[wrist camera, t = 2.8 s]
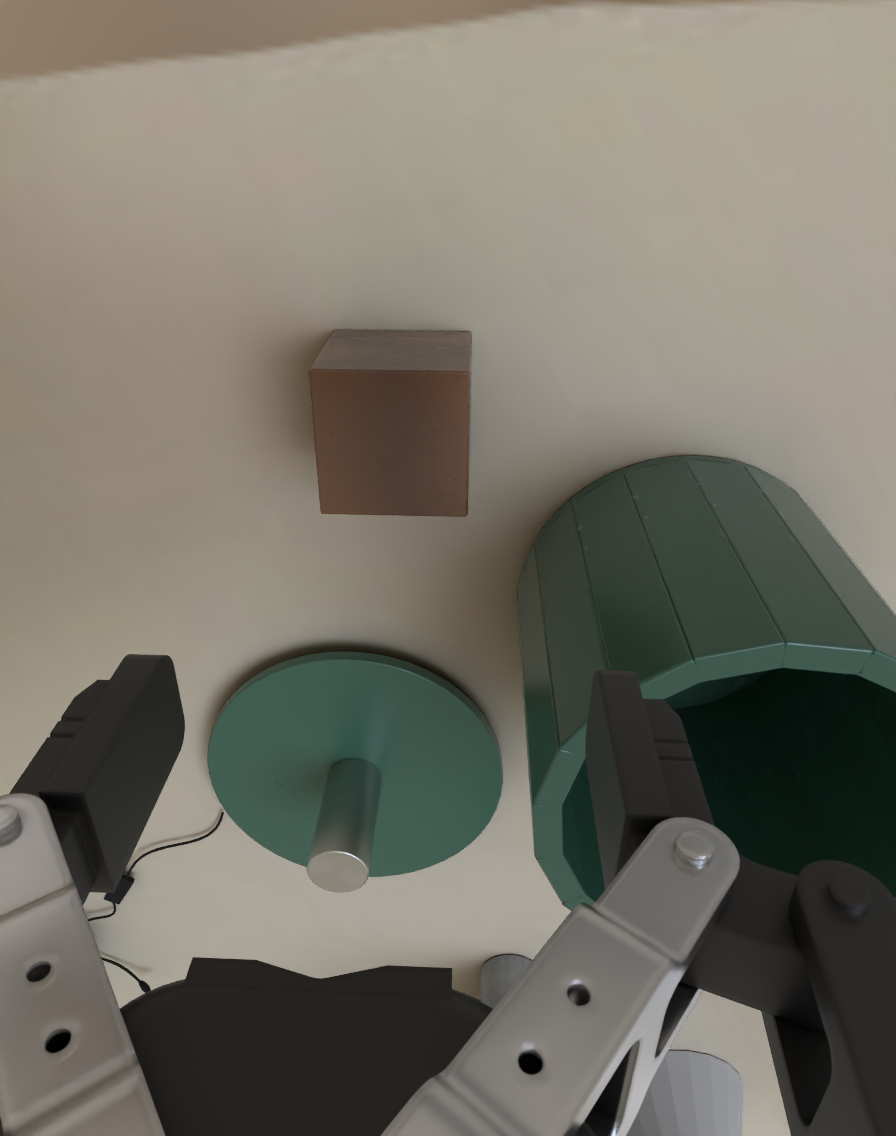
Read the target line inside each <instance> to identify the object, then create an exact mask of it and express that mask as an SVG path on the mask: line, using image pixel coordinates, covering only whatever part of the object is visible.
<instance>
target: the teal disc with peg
mask: <svg viewBox="0 0 896 1136" xmlns="http://www.w3.org/2000/svg"><path fill="white" fill-rule="evenodd" d="M208 767H209V775H210V778H211V782H212V785H213V788H214V791H215V793H216V795H217V797H218V799H219V801H220V803H221V804H222V806H223V807H224V809H225V811H226V812H227V814H228V815H229V816H230V817H231V818H232V820H233V821H234V822H235V823H236V824H237V825H238V826H239V827H240V828H241V829H242V830H243V831H244V832H245V833H246V834H247V835H248V836H250V837H251V838H252V839H254V840H255V841H256V842H258V843H259V844H260V845H262V846H263V847H265V848H266V849H268V850H270V851H272V852H273V853H275V854H277V855H279V856H281V857H283V858H285V859H287V860H289V861H292V862H294V863H297V864H299V865H302V866H305V867H307V873H308V876H309V878H310V879H311V880H312V882H314V883H315V884H316V885H317V886H319V887H321V888H323V889H325V890H328V891H332V892H350V891H353V890H356V889H358V888H360V887H361V886H362V885H363V884H364V883H365V882H366V880H367V878H368V877H382V876H392V875H399V874H404V873H409V872H414V871H417V870H421V869H424V868H427V867H430V866H433V865H435V864H437V863H440V862H442V861H444V860H446V859H448V858H450V857H451V856H453V855H455V854H457V853H458V852H460V851H461V850H462V849H464V848H465V847H467V846H468V845H469V844H470V843H471V842H472V841H474V840H475V839H476V838H477V837H478V836H479V835H480V834H481V832H482V831H483V830H484V828H485V827H486V826H487V825H488V823H489V822H490V820H491V818H492V816H493V814H494V812H495V811H496V809H497V806H498V803H499V799H500V796H501V791H502V784H503V773H502V757H501V753H500V748H499V744H498V742H497V739H496V737H495V734H494V732H493V730H492V728H491V727H490V725H489V723H488V722H487V720H486V718H485V717H484V715H483V714H482V713H481V712H480V710H479V709H478V708H477V707H476V706H475V704H474V703H473V702H472V701H471V700H470V699H469V698H467V697H466V696H465V695H464V694H463V693H462V692H461V691H460V690H458V689H457V688H456V687H454V686H453V685H452V684H450V683H449V682H447V681H446V680H444V679H443V678H441V677H439V676H437V675H436V674H434V673H432V672H430V671H428V670H426V669H424V668H421V667H419V666H416V665H414V664H412V663H409V662H406V661H402V660H399V659H396V658H392V657H389V656H383V655H378V654H372V653H364V652H351V651H340V652H323V653H316V654H309V655H304V656H300V657H297V658H293V659H289V660H286V661H284V662H281V663H279V664H276V665H274V666H271V667H269V668H268V669H266V670H264V671H262V672H260V673H258V674H257V675H255V676H254V677H252V678H251V679H250V680H248V681H247V682H246V683H244V684H243V685H242V686H241V687H240V688H239V689H238V690H237V691H236V692H235V693H234V694H233V695H232V696H231V697H230V698H229V700H228V701H227V703H226V704H225V706H224V707H223V708H222V710H221V712H220V714H219V716H218V718H217V721H216V723H215V725H214V727H213V730H212V733H211V737H210V741H209V746H208Z"/></svg>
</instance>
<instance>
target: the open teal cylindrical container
mask: <svg viewBox="0 0 896 1136" xmlns="http://www.w3.org/2000/svg"><path fill="white" fill-rule="evenodd" d="M517 600H518V621H519V639H520V654H521V668H522V682H523V697H524V711H525V725H526V740H527V754H528V768H529V783H530V797H531V811H532V826H533V840H534V854H535V858H536V860H537V861H538V863H539V865H540V866H541V868H542V870H543V872H544V873H545V875H546V877H547V878H548V880H549V882H550V883H551V885H552V887H553V889H554V890H555V892H556V894H557V895H558V897H559V899H560V901H561V902H562V904H563V905H564V906H565V907H567V908H568V909H569V910H571V911H572V910H573V909H574V908H575V907H576V906H578V905H579V904H581V903H586V904H588V905H589V906H592V905H593V904H594V903H595V902H596V901H597V900H598V899H599V897H600V896H601V895H602V894H603V892H604V891H605V885H604V878H603V872H602V865H601V858H600V852H599V845H598V839H597V832H596V826H595V819H594V813H593V806H592V799H591V793H590V786H589V780H588V773H587V766H586V753H585V741H586V729H587V721H588V713H589V705H590V697H591V689H592V681H593V675H594V672H595V670H614V671H635V672H636V674H637V678H638V682H639V685H640V689H641V693H642V697H643V699H664V700H665V701H666V702H667V704H668V705H669V706H670V707H671V708H672V709H673V710H674V711H675V712H676V713H677V715H678V716H679V717H680V718H681V720H682V723H683V727H684V730H685V733H686V736H687V739H688V740H687V742H688V744H689V746H690V749H691V752H692V755H693V761H695V765H696V768H697V771H698V774H699V777H700V780H701V784H702V787H703V790H704V793H705V796H706V799H707V803H708V806H709V809H710V812H711V815H712V818H713V821H714V824H715V827H716V828H718V829H719V830H721V831H722V832H723V833H724V834H726V835H727V837H728V838H729V839H730V840H731V841H732V842H733V844H734V845H735V847H736V849H737V851H738V853H739V854H741V855H742V856H744V857H746V858H747V859H749V860H751V861H753V862H756V863H758V864H761V865H764V866H767V867H770V868H773V869H777V870H780V871H783V872H787V873H790V874H793V875H797V876H798V875H799V874H800V872H801V870H802V869H803V868H804V867H805V866H807V865H808V864H810V863H812V862H816V861H820V860H836V861H842V862H846V863H849V864H852V865H854V866H857V867H859V868H861V869H863V870H865V871H867V872H868V873H870V874H871V875H873V876H874V877H876V878H877V879H878V880H879V881H880V882H882V884H883V885H884V886H885V887H886V888H887V889H888V890H889V891H890V893H891V894H892V895H893V897H894V899H895V901H896V614H895V613H894V611H893V610H892V609H891V608H890V606H889V605H888V604H887V603H886V601H885V600H884V599H883V598H882V596H881V595H880V594H879V593H878V591H877V590H876V589H875V588H874V586H873V585H872V584H871V583H870V581H869V580H868V579H867V578H866V576H865V575H864V574H863V573H862V571H861V570H860V569H859V568H858V566H857V565H856V564H855V563H854V561H853V560H852V559H851V558H850V556H849V555H848V554H847V553H846V551H845V550H844V549H843V548H842V546H841V545H840V544H839V543H838V541H837V540H836V539H835V538H834V536H833V535H832V534H831V533H830V531H829V530H828V529H827V528H826V527H825V525H824V524H823V523H822V522H821V521H820V519H819V518H818V517H817V516H816V515H815V514H814V512H813V511H812V510H811V509H810V508H809V506H808V505H807V504H806V503H805V502H804V501H803V499H802V498H801V497H800V496H799V495H798V494H797V492H796V491H794V490H793V489H792V488H790V487H788V486H787V485H786V484H784V483H783V482H781V481H780V480H779V479H777V478H776V477H774V476H772V475H770V474H768V473H766V472H764V471H762V470H760V469H758V468H756V467H753V466H750V465H747V464H744V463H741V462H738V461H734V460H729V459H724V458H719V457H709V456H697V455H693V456H672V457H666V458H660V459H653V460H649V461H645V462H642V463H638V464H635V465H631V466H628V467H625V468H623V469H621V470H618V471H616V472H613V473H611V474H609V475H607V476H605V477H603V478H601V479H599V480H598V481H596V482H594V483H592V484H590V485H589V486H587V487H586V488H585V489H583V490H582V491H580V492H579V493H578V494H576V495H575V496H573V497H572V498H571V499H570V500H569V501H568V502H567V503H565V504H564V505H563V506H562V507H561V508H560V509H559V510H558V511H557V512H556V513H555V514H554V515H553V516H552V518H551V519H550V520H549V521H548V522H547V524H546V525H545V526H544V527H543V529H542V530H541V532H540V533H539V535H538V536H537V538H536V540H535V541H534V543H533V544H532V547H531V549H530V551H529V553H528V555H527V558H526V560H525V562H524V566H523V569H522V573H521V576H520V582H519V587H518V591H517Z"/></svg>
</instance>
